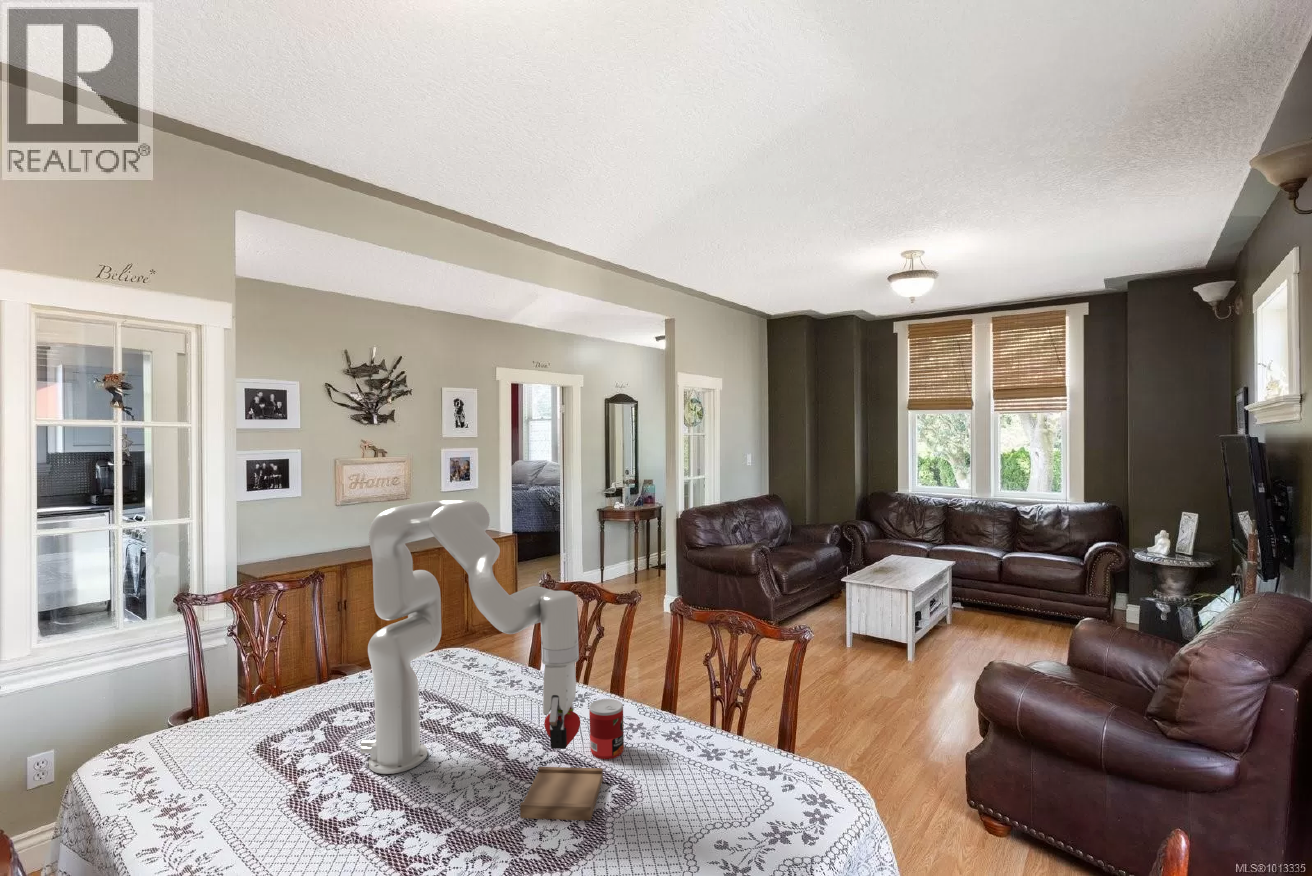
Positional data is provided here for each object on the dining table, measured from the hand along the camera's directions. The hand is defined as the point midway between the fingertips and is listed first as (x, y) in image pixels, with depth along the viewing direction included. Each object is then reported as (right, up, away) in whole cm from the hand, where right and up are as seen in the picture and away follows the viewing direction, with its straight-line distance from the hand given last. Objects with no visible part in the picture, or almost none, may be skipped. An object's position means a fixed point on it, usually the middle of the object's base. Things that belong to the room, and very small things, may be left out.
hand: (562, 739), depth 131 cm
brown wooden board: (0, -12, 0) cm, 12 cm away
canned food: (+8, -12, +19) cm, 24 cm away
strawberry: (0, -2, 0) cm, 2 cm away
